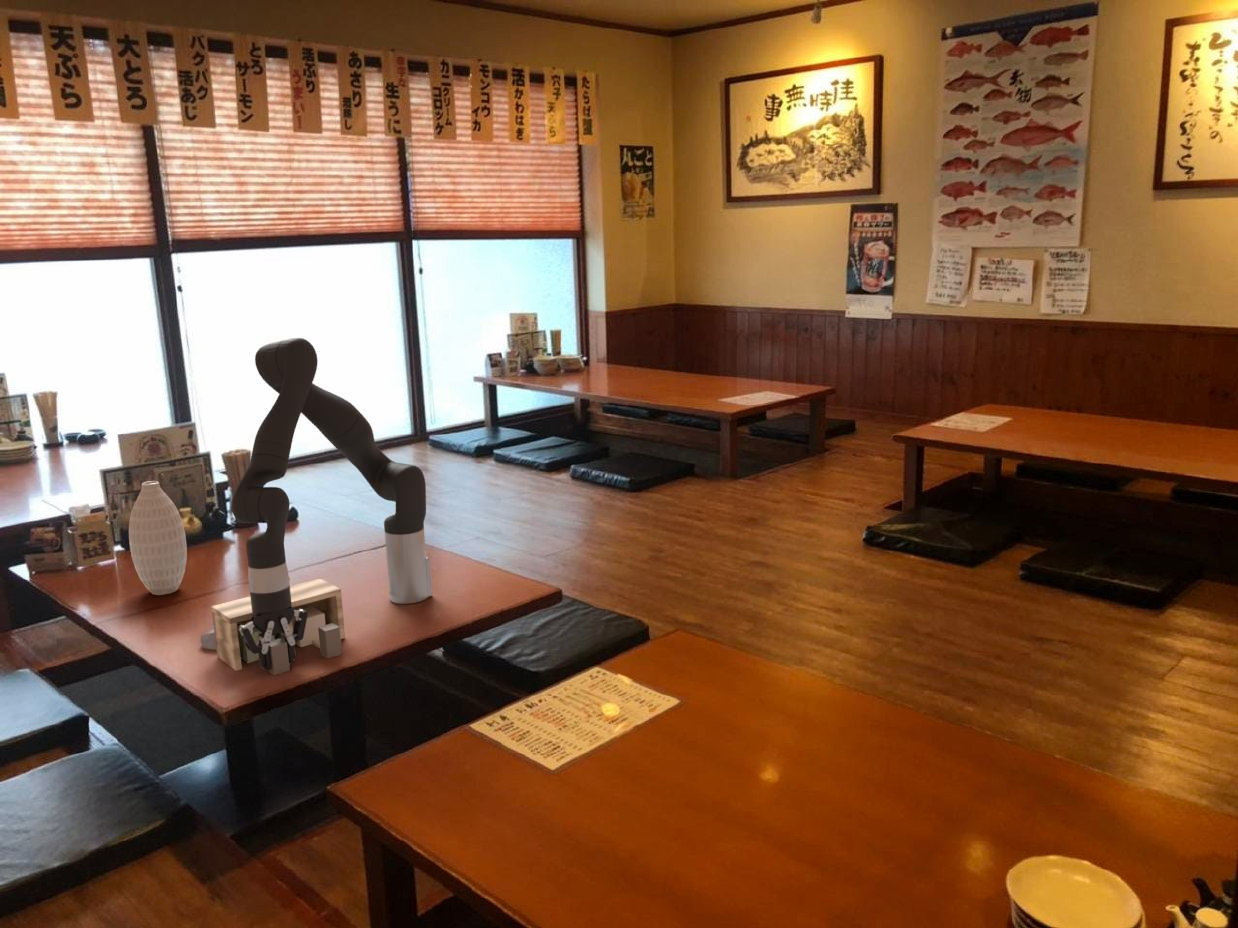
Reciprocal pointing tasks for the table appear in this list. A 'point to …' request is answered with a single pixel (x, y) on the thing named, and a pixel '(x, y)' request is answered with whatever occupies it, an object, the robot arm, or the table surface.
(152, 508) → the vase
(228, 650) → the shelf
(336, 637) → the cream block
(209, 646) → the stone block
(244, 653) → the sage block
